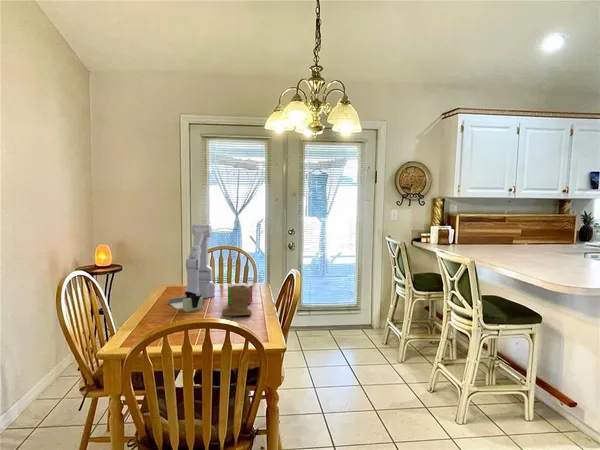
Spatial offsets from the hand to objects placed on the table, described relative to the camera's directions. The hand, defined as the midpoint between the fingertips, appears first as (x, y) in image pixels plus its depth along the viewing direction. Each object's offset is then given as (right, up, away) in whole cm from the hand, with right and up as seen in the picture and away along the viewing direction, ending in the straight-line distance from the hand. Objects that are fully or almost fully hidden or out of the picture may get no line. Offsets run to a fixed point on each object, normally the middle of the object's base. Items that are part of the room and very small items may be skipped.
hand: (192, 306), depth 204 cm
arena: (-6, -1, +8) cm, 10 cm away
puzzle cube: (+23, -1, +13) cm, 26 cm away
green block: (0, -2, 0) cm, 2 cm away
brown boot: (+24, -3, -6) cm, 25 cm away
